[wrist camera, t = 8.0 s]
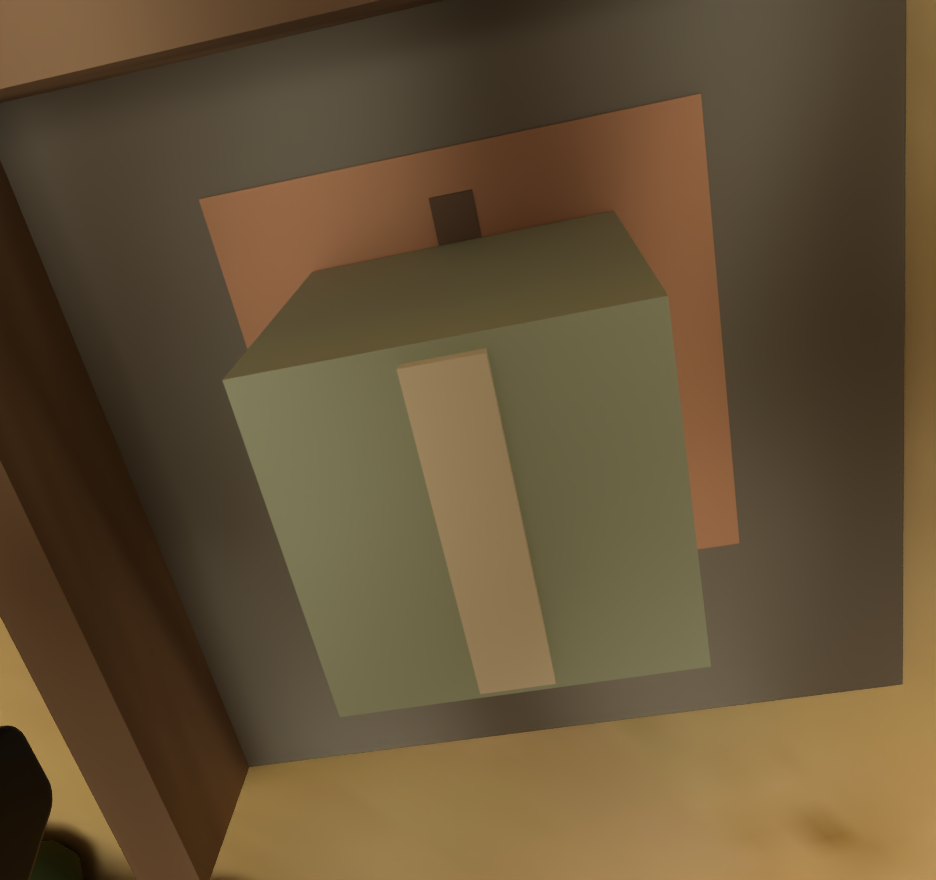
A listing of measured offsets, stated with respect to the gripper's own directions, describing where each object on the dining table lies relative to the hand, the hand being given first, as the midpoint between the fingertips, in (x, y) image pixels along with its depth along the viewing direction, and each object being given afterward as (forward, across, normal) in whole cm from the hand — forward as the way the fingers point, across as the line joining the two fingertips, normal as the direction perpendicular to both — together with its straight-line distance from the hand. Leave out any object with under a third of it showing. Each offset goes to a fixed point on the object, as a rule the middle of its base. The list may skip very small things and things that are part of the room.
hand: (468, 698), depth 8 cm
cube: (+8, 0, 0) cm, 8 cm away
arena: (+8, 0, +1) cm, 8 cm away
